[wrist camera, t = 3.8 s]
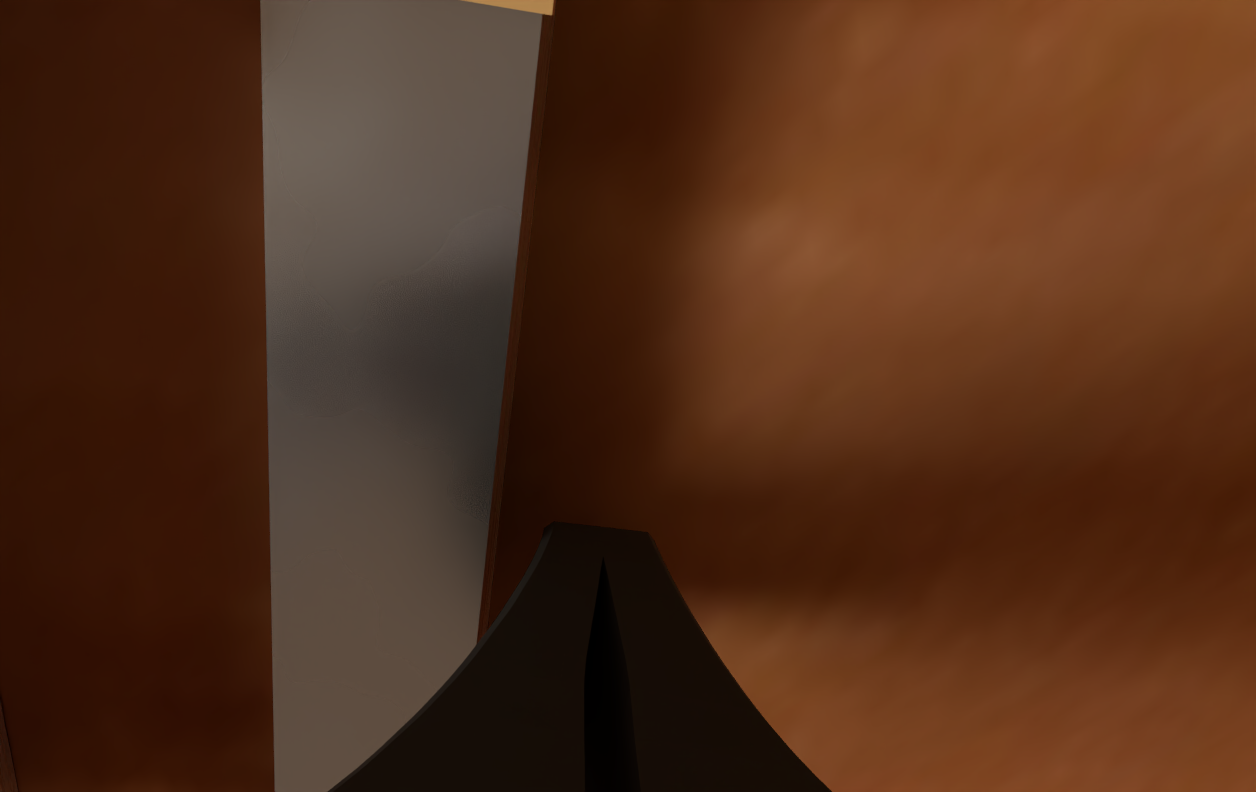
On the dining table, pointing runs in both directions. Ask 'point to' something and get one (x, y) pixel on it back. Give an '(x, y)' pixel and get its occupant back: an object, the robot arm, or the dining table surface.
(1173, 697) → the dining table surface
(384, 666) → the gray bar
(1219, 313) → the dining table surface
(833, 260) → the dining table surface
